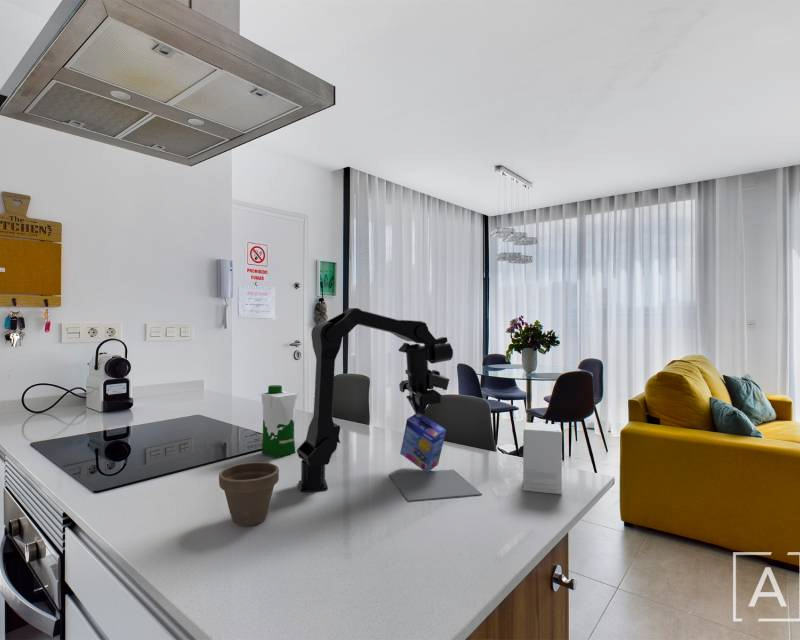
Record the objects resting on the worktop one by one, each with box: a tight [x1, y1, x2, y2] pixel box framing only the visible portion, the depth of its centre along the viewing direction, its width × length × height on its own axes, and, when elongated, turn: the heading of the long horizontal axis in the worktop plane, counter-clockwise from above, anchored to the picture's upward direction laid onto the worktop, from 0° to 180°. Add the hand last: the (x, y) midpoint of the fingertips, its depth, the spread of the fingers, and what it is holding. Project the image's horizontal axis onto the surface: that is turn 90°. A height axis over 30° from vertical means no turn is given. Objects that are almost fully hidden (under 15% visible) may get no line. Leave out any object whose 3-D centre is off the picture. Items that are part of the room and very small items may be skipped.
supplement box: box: [522, 421, 563, 495], centre depth 115 cm, size 9×9×15 cm
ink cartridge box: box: [399, 412, 447, 472], centre depth 125 cm, size 10×6×14 cm, turn 55°
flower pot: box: [218, 461, 280, 527], centre depth 94 cm, size 12×11×10 cm
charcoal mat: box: [389, 469, 483, 503], centre depth 115 cm, size 18×18×1 cm
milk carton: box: [260, 384, 299, 459], centre depth 140 cm, size 9×9×20 cm
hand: (421, 421), depth 129 cm, fingers closed
